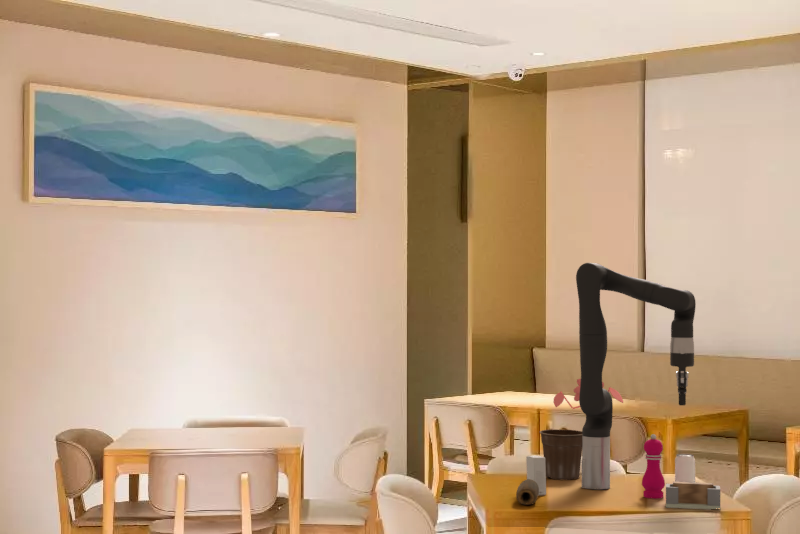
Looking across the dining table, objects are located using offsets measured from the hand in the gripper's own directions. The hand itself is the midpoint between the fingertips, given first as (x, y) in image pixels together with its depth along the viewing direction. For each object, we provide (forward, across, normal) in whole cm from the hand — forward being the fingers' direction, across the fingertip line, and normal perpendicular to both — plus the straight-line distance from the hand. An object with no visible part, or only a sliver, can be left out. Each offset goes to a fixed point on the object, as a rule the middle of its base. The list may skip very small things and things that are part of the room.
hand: (682, 405), depth 379 cm
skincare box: (+29, +10, -46) cm, 55 cm away
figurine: (+29, -50, -33) cm, 67 cm away
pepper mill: (+29, +6, -9) cm, 31 cm away
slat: (+28, +20, +3) cm, 34 cm away
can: (+29, -8, +1) cm, 30 cm away
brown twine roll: (+29, +27, -47) cm, 61 cm away
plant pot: (+29, -28, -41) cm, 58 cm away
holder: (+29, +20, +3) cm, 35 cm away
